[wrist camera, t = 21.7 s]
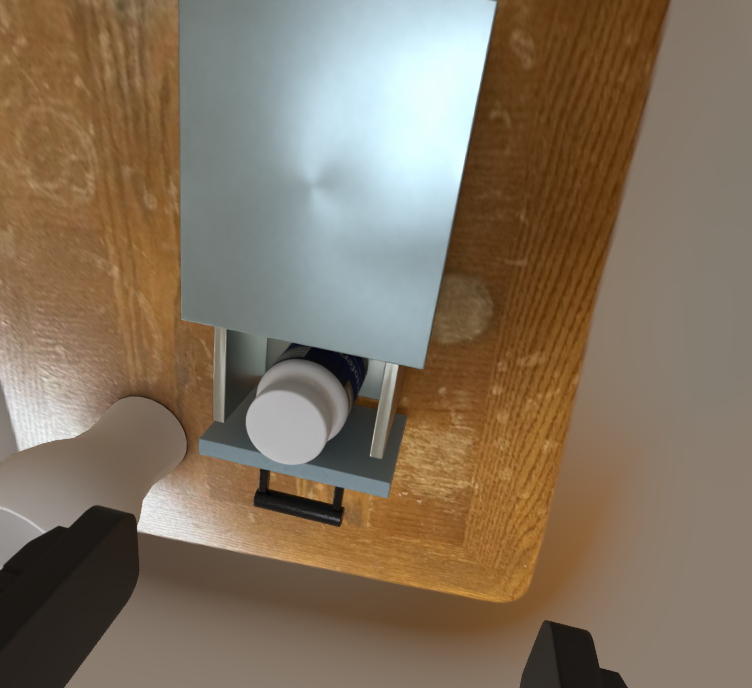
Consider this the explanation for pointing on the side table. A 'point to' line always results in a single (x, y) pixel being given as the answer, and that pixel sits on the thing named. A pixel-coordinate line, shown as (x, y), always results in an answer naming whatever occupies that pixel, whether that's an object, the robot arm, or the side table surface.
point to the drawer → (340, 454)
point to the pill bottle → (303, 402)
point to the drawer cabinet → (325, 165)
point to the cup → (88, 471)
